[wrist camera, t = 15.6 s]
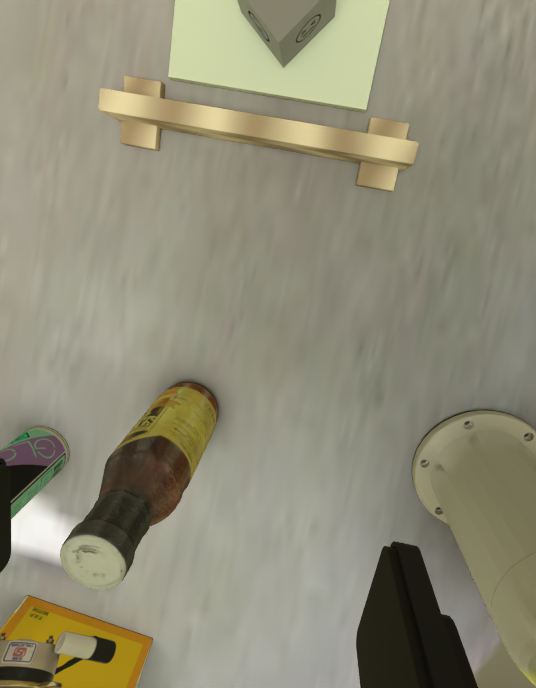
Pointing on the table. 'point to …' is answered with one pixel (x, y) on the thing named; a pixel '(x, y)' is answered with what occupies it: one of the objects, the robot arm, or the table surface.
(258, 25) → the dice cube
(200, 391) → the sauce bottle
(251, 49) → the pad
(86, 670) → the packaging box
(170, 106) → the wooden barrier
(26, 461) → the spray can
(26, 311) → the table surface
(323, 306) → the table surface
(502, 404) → the table surface
